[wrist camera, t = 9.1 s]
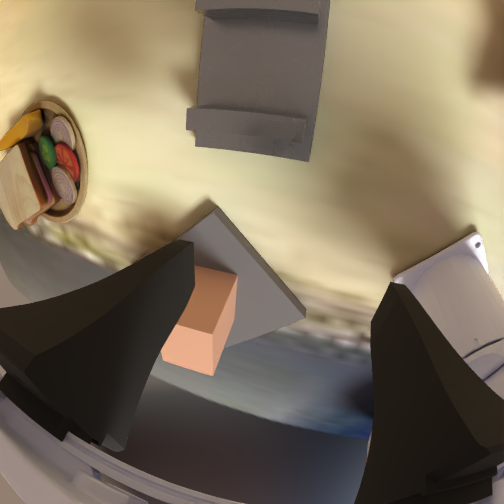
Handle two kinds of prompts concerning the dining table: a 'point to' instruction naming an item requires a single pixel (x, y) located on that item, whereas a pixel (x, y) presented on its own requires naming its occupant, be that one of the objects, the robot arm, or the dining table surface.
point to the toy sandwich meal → (43, 167)
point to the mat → (243, 278)
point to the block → (203, 322)
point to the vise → (260, 75)
